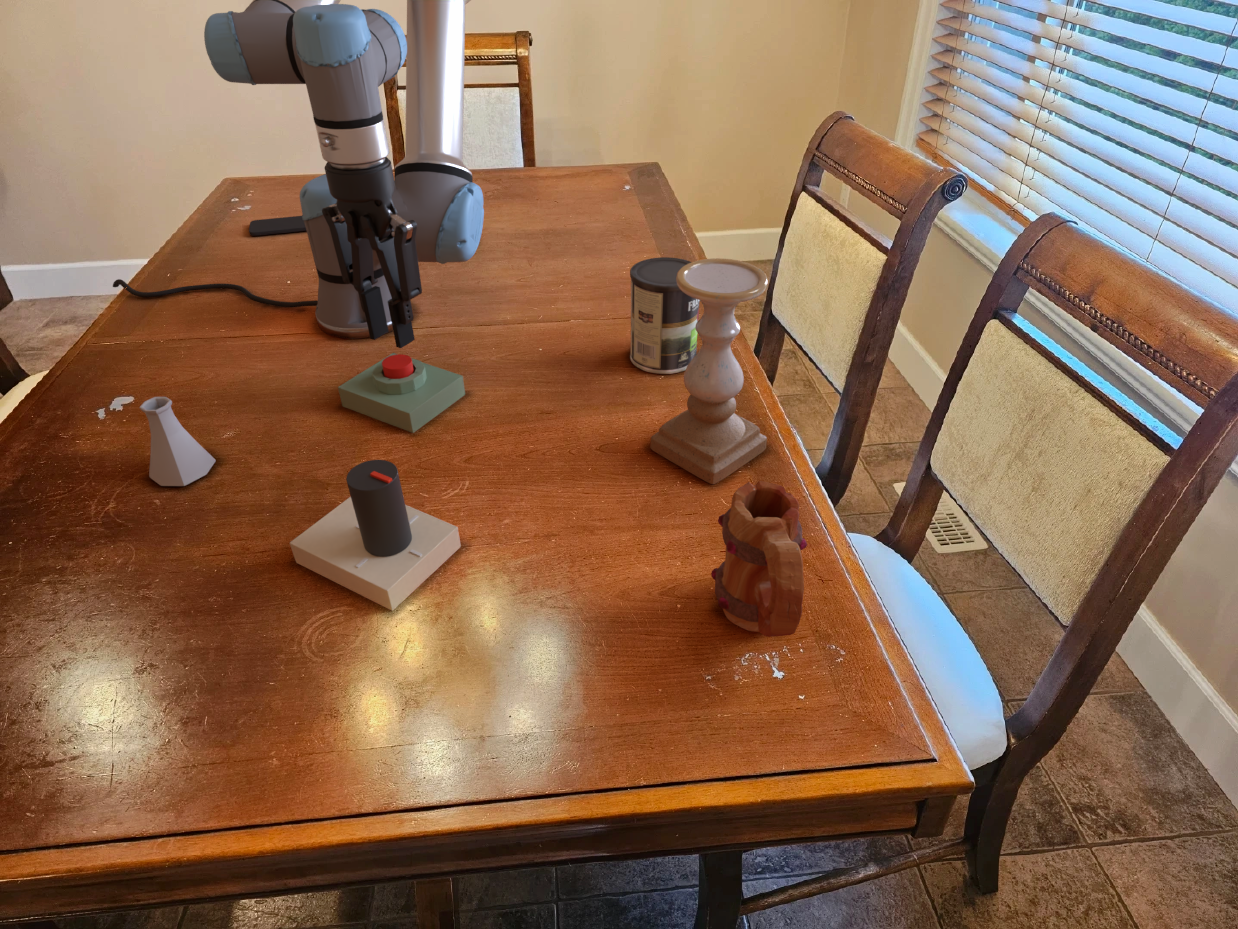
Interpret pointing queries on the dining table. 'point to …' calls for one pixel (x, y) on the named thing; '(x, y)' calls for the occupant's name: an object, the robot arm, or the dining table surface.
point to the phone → (276, 225)
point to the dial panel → (380, 579)
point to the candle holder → (714, 376)
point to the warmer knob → (379, 507)
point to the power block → (402, 394)
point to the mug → (762, 560)
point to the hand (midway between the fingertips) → (392, 338)
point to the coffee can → (661, 317)
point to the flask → (173, 447)
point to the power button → (397, 366)
